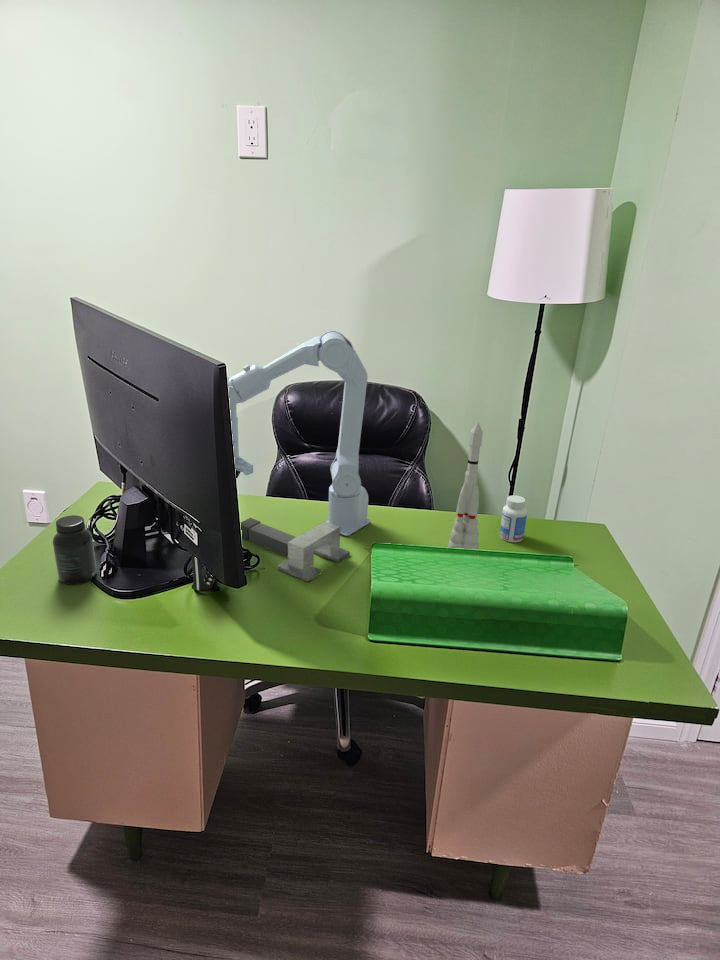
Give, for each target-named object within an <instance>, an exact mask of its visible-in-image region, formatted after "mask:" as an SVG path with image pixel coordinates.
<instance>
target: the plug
mask: <svg viewBox="0 0 720 960" xmlns="http://www.w3.org/2000/svg"><path fill="white" fill-rule="evenodd" d="M240 523H241V530H242V538H241V539H243V540H245V541H249V542H252V543H254V544H256V545H259V546H261V547H263V548H265V549H268V550H270V551H274V552H275V553H278V554H280V555H283V556H285V557H288V542H289V541H291V540H293V539H294V538H296V537H297V536H295V535H293V534H289V533H287V532H285V531H282V530H280V529H277V528H274V527H272V526H269V525H267V524H264V523H262V522H261V521H260V520H257V519H255V518H252V517H249V518H246V519H244V520H243V521H241V522H240Z"/></svg>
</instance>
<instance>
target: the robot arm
mask: <svg viewBox="0 0 720 960" xmlns="http://www.w3.org/2000/svg"><path fill="white" fill-rule="evenodd" d="M319 362H321V363H322V365H323V366H324V367H326V368H327V369H328V370H331V371H333V372H335V373H337V375H338V376H339V377H340V378H341V379H342V380H343V382H344V386H343V395H342V398H343V399H342V405H341V415H340V421H339V422H340V423H339V432H338V433H339V435H338V443H337V449H336V452H335V458H334V460H333V461H332V463H331V464H330V475H331V479H332V483H331V484H330V486H329V487H328V509H327V510H328V511H327V512H328V514H327V520H325V521H326V522H329V523H332V524H335V525H337V526H340V535H342V536H345V537H349V536H351V535H352V534H354V533H356V532H357V531H359V530H360V529H363V527H366V526H367V525H368V524H371V520H370V519H368V517H369V516H368V514H369V513H368V511H369V494H368V492H367V491H368V490H366V487H364V486H362V480H361V477H360V474H359V468H360V467H359V466H360V464H359V463H360V461H359V453H360V446H361V445H360V444H361V434H362V426H363V420H364V413H365V412H364V410H365V402H366V394H367V393H366V392H367V387H368V371H367V370H366V368H365V366H364V364H363V362H362V361H361V358H360V356H359V354H358V353H357V351H356V349H355V348H354V346H353V344H352V342H351V341H350V340H349V339H348V338H347V337H346V336H345V335H344V334H343V333H341V332H339V331H337V330H329V331H326V332H324V333H323V334H321V336H320V335H317V336H315V337H312V338H310V339H309V340H306V341H305V342H303V343H301V344H299V345H298V346H295V347H294V348H292V349H290V350H288V351H287V352H286V353H284V354H283V355H281V356H279V357H277V358H276V359H273V360H272V361H270V362H269V363H267V364H265V365H259V364H257V363H256V364H253V365H250V364H246V365H245V366H243V370H241V371H240V372H238V373H236V374H234V375H232V376H230V377H229V376H227V377H228V388H229V398H230V410H231V421H232V434H233V446H234V457H235V469H236V478H237V479H238V477H239V476H240V474H241V473H243V475H244V476H248V475H251V474H254V464H252V463H250V462H248V461H246V460H245V459H244V458H243V457H241V456H240V449H239V419H238V416H237V405H238V404H243V403H246V401H248V400H250V399H252V398H254V397H256V396H258V395H259V394H262V393H263V392H265V391H268V389H270V385H271V382H272V381H273V380H274V379H275V380H276V379H277V378H280V377H281V376H283V375H285V374H287V373H289V372H291V371H293V370H296V369H297V368H300V367H302V366H304V365H308V366H313V367H320V365H319V364H320V363H319Z"/></svg>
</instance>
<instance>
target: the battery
mask: <svg viewBox="0 0 720 960" xmlns="http://www.w3.org/2000/svg"><path fill="white" fill-rule="evenodd" d="M190 555H191V564H192V566H191V567H192V576H193V577H192V579H193V590H196V591H208V590H211V588H212V587H213V585H214V583H215V581H216V579H214V578H213V576H212V575H211V574H210V573H209V572H208V571H207V570H206V569H205V567H204V566H203V565H202V563H200V562H199V560H198V559H197V558H196V557H194V556H192V554H190Z"/></svg>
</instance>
